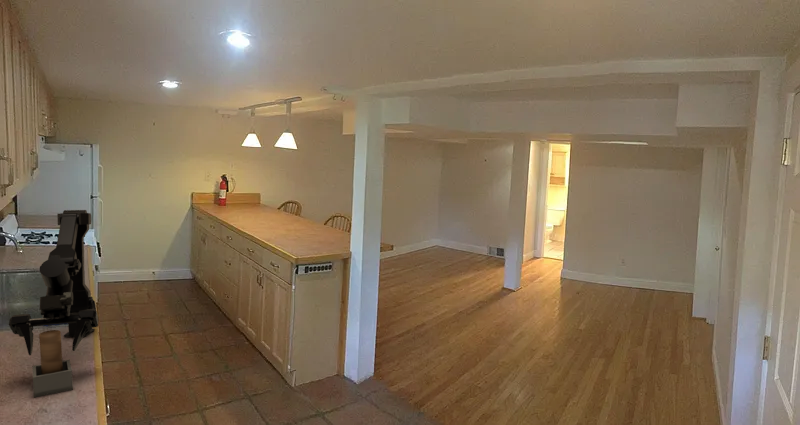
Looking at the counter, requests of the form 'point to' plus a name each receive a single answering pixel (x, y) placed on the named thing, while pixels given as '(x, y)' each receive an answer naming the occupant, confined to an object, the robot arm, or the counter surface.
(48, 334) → the walnut peg
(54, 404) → the counter surface
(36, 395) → the socket cup
